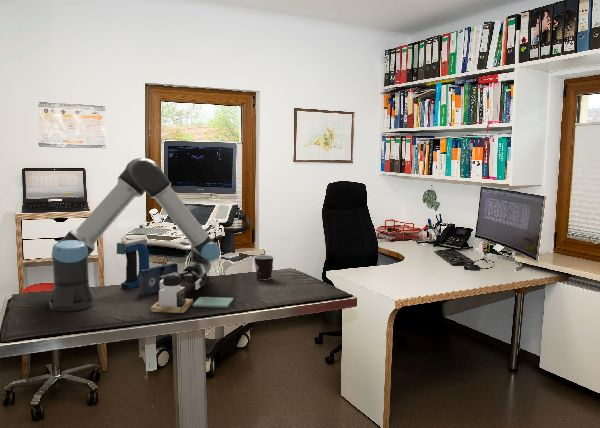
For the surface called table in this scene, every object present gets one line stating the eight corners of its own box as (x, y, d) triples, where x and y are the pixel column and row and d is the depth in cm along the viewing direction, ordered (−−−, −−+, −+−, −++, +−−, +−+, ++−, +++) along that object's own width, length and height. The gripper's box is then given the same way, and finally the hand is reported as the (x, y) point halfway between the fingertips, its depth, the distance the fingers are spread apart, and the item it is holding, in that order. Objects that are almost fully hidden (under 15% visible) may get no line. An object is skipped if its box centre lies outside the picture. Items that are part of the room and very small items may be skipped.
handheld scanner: (116, 289, 208) (115, 242, 206) (141, 281, 223) (141, 237, 220) (124, 291, 206) (124, 244, 204) (150, 282, 221) (149, 238, 219)
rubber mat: (192, 306, 186) (192, 304, 186) (200, 298, 196) (200, 296, 196) (227, 307, 185) (227, 305, 185) (233, 299, 195) (233, 297, 195)
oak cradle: (150, 311, 179) (150, 307, 179) (162, 302, 191) (162, 298, 191) (183, 312, 178) (183, 308, 178) (193, 303, 190) (192, 299, 190)
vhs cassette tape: (174, 285, 217) (173, 262, 216) (179, 286, 215) (178, 263, 214) (138, 294, 202) (138, 270, 201) (143, 295, 200) (142, 271, 199)
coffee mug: (254, 276, 233) (254, 255, 232) (272, 276, 234) (272, 255, 233) (254, 282, 222) (254, 260, 221) (274, 282, 223) (274, 260, 222)
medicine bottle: (177, 311, 180) (176, 278, 179) (158, 309, 182) (158, 277, 181) (185, 305, 187) (185, 273, 186) (167, 304, 189) (167, 272, 188)
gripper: (223, 282, 210) (211, 296, 189) (164, 280, 211) (146, 294, 190) (223, 264, 209) (211, 276, 188) (164, 263, 211) (145, 274, 189)
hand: (178, 285), depth 189 cm, fingers open, 13 cm apart
